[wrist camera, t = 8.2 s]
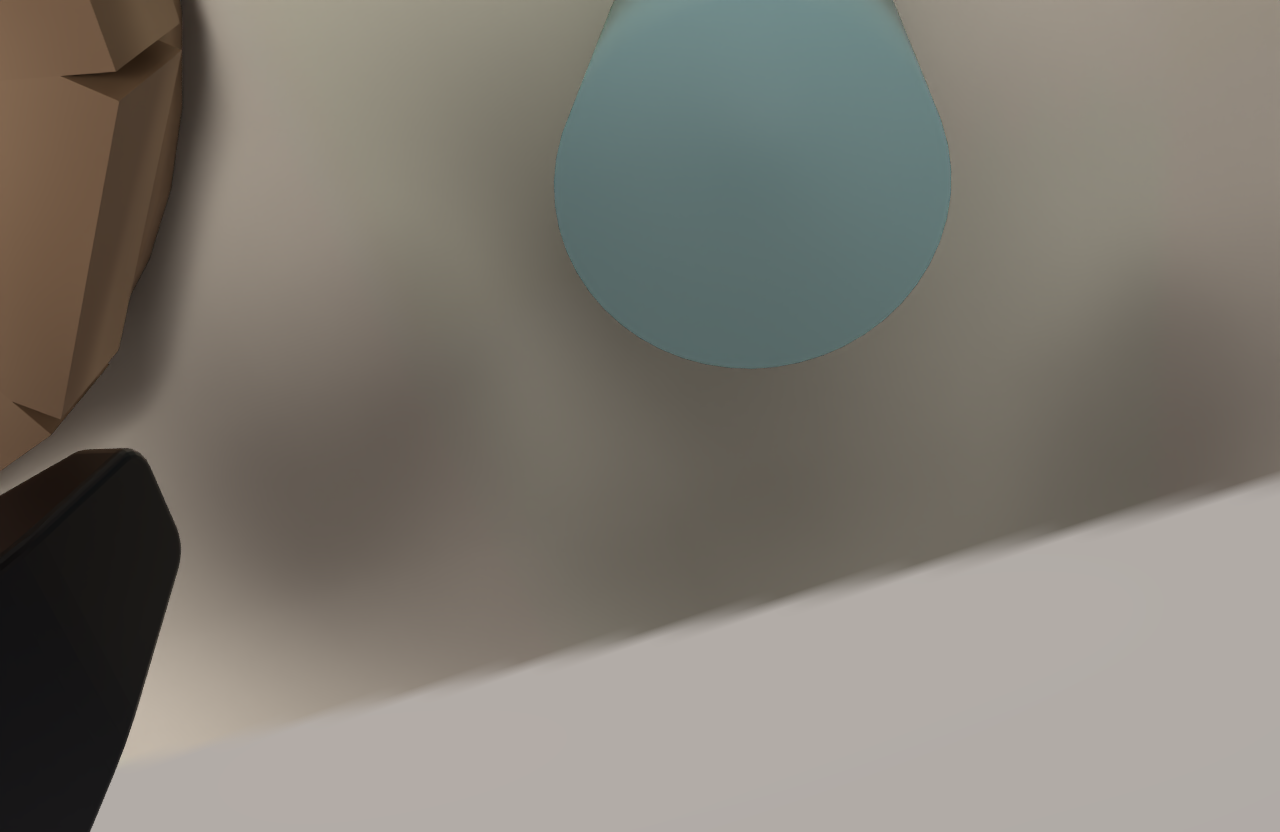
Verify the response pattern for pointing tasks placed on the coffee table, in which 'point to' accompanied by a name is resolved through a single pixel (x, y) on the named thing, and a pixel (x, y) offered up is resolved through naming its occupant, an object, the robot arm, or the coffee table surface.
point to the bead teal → (752, 175)
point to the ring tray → (77, 191)
